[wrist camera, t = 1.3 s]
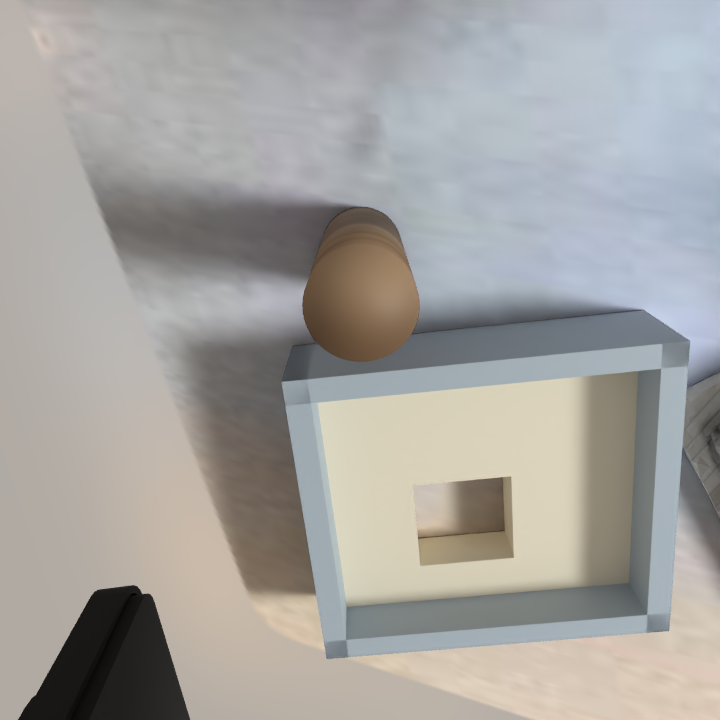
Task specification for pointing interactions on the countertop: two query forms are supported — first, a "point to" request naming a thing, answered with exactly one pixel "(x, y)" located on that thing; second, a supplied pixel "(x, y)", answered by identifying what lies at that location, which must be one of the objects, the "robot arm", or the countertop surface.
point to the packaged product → (704, 434)
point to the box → (493, 460)
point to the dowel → (361, 288)
